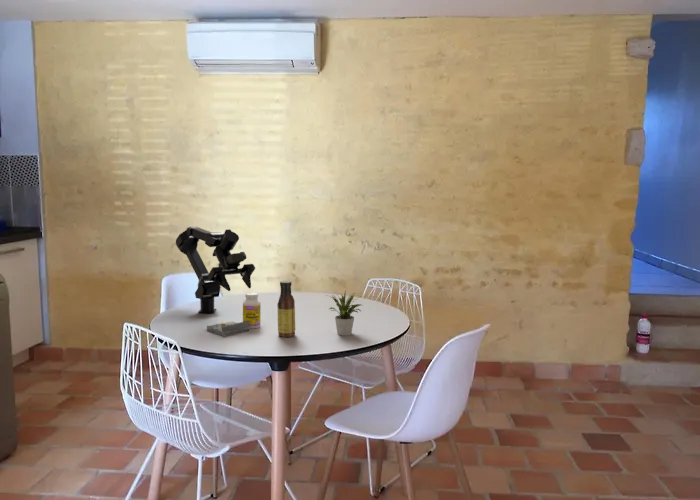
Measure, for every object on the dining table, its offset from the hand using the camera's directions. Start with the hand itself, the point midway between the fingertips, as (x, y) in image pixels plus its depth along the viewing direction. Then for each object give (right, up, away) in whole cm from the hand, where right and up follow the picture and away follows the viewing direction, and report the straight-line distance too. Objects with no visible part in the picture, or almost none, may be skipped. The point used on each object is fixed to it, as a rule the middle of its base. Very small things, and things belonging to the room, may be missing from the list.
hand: (240, 289), depth 211 cm
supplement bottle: (+5, -14, -4) cm, 16 cm away
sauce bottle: (+20, -16, -15) cm, 30 cm away
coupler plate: (-2, -15, -10) cm, 18 cm away
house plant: (+40, -16, -12) cm, 44 cm away
